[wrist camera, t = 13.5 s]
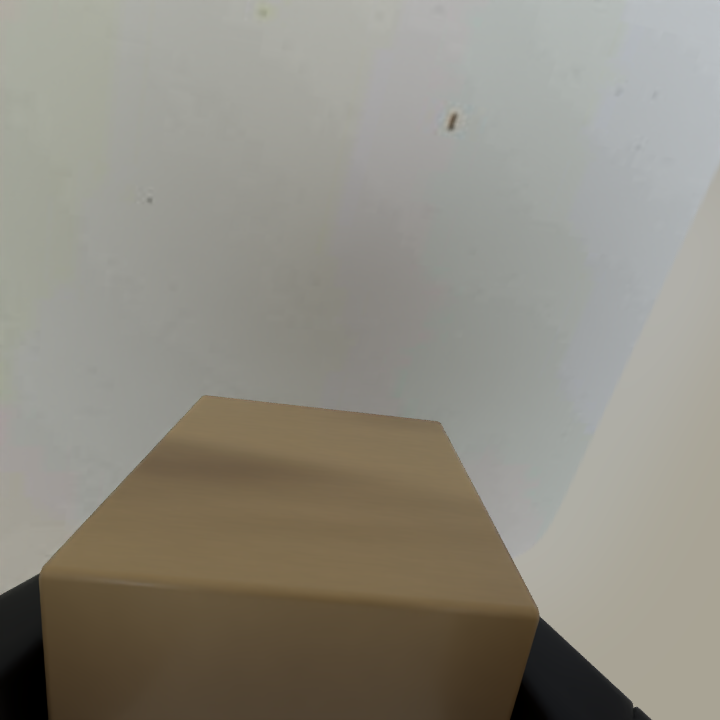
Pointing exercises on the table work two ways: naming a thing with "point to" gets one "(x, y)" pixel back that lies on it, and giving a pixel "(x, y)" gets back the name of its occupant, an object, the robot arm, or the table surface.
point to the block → (287, 578)
